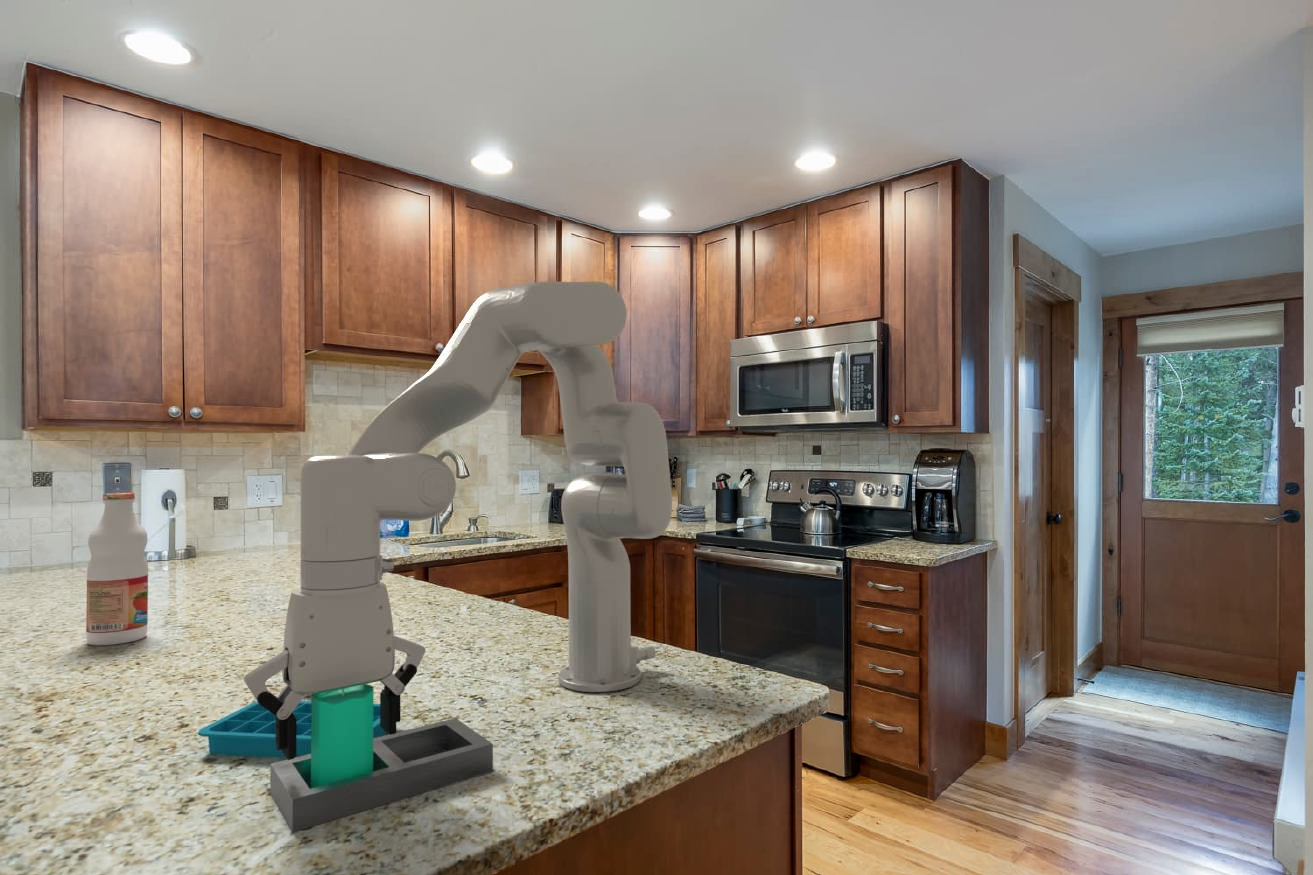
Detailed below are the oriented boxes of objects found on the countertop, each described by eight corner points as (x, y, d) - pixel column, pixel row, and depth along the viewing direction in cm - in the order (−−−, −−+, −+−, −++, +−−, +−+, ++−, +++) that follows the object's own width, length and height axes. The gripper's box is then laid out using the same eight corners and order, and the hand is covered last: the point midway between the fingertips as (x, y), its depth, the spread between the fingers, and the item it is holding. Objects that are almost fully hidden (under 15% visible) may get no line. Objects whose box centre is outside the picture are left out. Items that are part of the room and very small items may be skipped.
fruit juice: (82, 640, 137) (84, 493, 138) (142, 631, 144) (144, 491, 145) (89, 649, 131) (91, 495, 131) (151, 639, 137) (153, 493, 138)
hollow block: (455, 743, 86) (455, 718, 86) (492, 771, 79) (492, 743, 79) (270, 792, 74) (270, 763, 74) (292, 832, 66) (292, 799, 66)
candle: (296, 801, 72) (297, 681, 72) (343, 777, 77) (343, 665, 78) (341, 812, 70) (342, 688, 70) (386, 786, 75) (387, 671, 76)
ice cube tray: (355, 767, 81) (355, 740, 81) (192, 759, 83) (192, 733, 83) (404, 728, 92) (404, 704, 92) (259, 721, 95) (259, 699, 95)
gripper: (411, 562, 82) (411, 712, 82) (238, 579, 72) (237, 753, 71) (436, 570, 76) (436, 732, 76) (252, 590, 66) (251, 779, 65)
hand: (340, 742), depth 74 cm, fingers open, 9 cm apart
